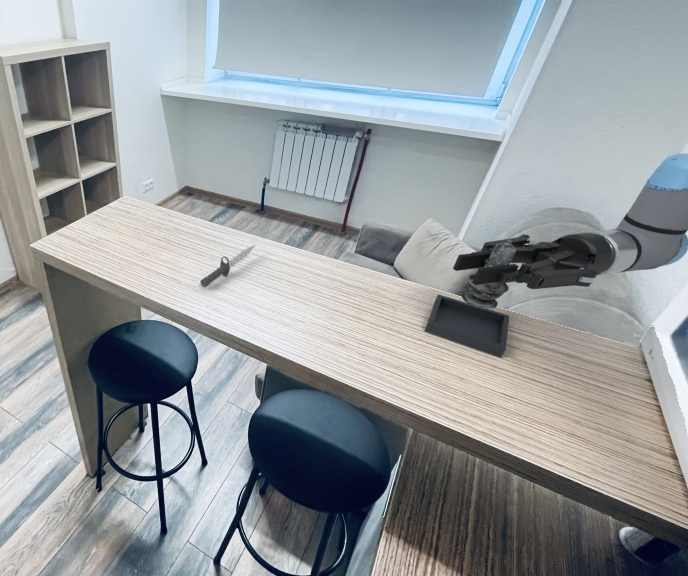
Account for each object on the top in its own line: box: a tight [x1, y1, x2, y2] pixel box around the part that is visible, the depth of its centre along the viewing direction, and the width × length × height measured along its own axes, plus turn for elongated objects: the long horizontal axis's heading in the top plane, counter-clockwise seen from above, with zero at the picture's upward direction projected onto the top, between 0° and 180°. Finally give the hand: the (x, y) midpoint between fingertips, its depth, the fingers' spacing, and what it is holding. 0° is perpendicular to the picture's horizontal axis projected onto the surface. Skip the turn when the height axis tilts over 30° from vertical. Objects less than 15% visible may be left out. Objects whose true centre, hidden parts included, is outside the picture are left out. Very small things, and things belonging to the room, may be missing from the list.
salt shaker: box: [461, 238, 516, 310], centre depth 67 cm, size 6×6×12 cm
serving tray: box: [424, 294, 510, 358], centre depth 74 cm, size 12×11×2 cm
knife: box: [199, 244, 256, 288], centre depth 90 cm, size 19×2×5 cm, turn 137°
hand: (467, 269), depth 66 cm, fingers closed on salt shaker, 3 cm apart
